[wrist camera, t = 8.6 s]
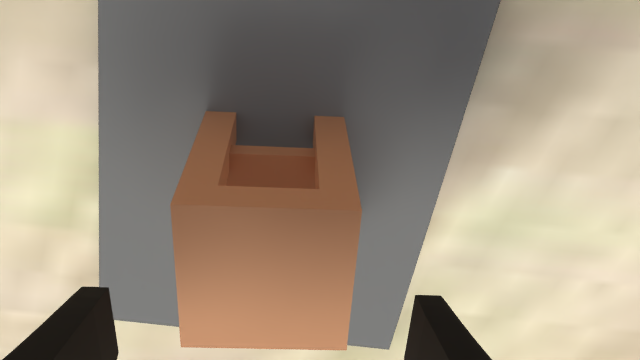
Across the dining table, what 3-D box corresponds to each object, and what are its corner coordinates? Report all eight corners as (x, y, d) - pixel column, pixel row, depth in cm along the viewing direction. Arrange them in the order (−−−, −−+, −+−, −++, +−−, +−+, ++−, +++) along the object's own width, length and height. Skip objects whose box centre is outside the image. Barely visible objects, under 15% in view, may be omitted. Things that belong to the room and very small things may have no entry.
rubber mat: (497, -15, 18) (504, -11, 17) (387, 339, 25) (388, 349, 24) (104, -89, 16) (97, -87, 16) (103, 308, 23) (99, 318, 23)
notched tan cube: (344, 117, 19) (361, 210, 14) (334, 231, 21) (346, 349, 16) (206, 111, 19) (170, 204, 14) (210, 227, 21) (180, 346, 16)
